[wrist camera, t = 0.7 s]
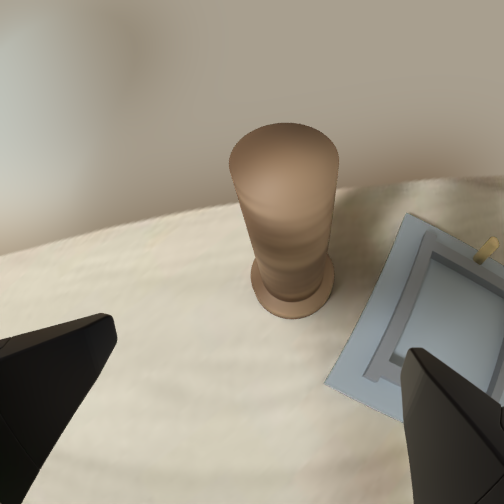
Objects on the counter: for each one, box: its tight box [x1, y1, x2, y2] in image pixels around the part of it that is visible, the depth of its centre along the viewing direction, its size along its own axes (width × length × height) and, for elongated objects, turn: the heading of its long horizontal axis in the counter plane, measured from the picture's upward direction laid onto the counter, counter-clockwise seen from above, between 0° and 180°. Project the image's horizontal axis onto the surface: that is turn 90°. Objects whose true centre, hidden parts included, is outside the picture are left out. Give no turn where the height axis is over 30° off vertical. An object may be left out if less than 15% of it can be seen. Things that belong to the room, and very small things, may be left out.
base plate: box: [323, 213, 504, 423], centre depth 17 cm, size 15×15×4 cm
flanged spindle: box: [229, 123, 339, 319], centre depth 18 cm, size 6×6×13 cm
